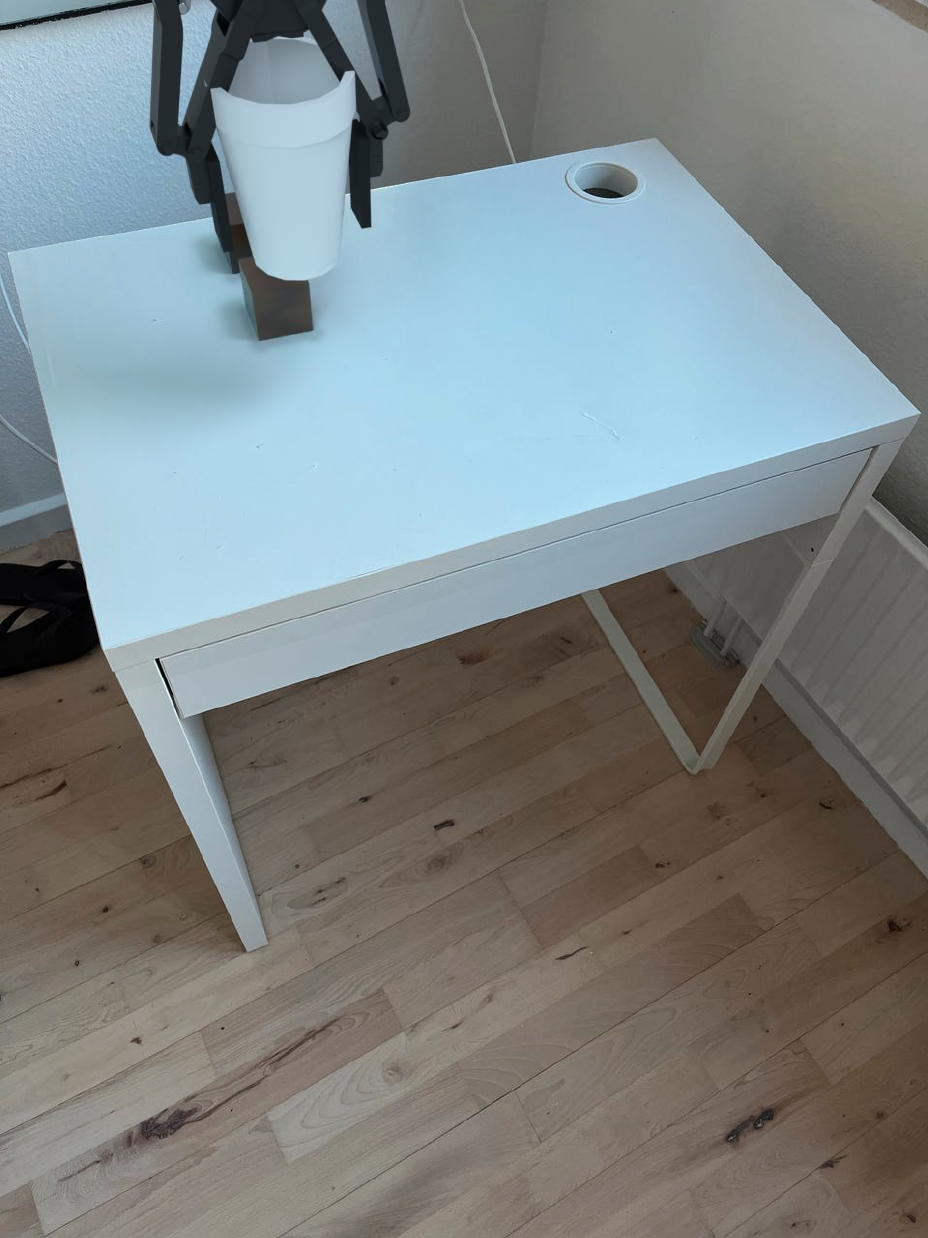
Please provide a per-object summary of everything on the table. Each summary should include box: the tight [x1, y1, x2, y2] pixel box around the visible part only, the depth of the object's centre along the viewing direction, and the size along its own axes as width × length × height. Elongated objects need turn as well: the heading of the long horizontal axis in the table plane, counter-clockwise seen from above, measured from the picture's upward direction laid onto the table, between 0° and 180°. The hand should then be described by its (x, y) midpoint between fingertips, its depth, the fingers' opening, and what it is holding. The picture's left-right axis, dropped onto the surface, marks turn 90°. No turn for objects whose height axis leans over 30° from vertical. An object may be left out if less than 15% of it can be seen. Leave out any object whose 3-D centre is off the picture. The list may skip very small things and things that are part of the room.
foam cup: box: [204, 36, 357, 281], centre depth 64 cm, size 10×9×13 cm
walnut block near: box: [238, 256, 314, 341], centre depth 83 cm, size 5×5×5 cm
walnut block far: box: [223, 191, 253, 275], centre depth 88 cm, size 5×5×5 cm
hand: (294, 228), depth 68 cm, fingers closed on foam cup, 9 cm apart
